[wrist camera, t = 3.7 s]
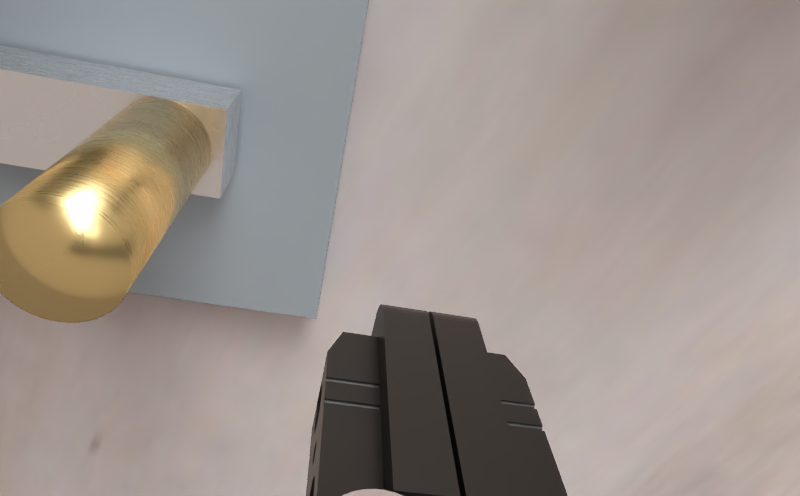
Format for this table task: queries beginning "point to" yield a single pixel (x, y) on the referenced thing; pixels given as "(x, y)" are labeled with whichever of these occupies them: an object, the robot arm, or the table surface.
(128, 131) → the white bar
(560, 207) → the table surface
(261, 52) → the door and jamb lock plate
